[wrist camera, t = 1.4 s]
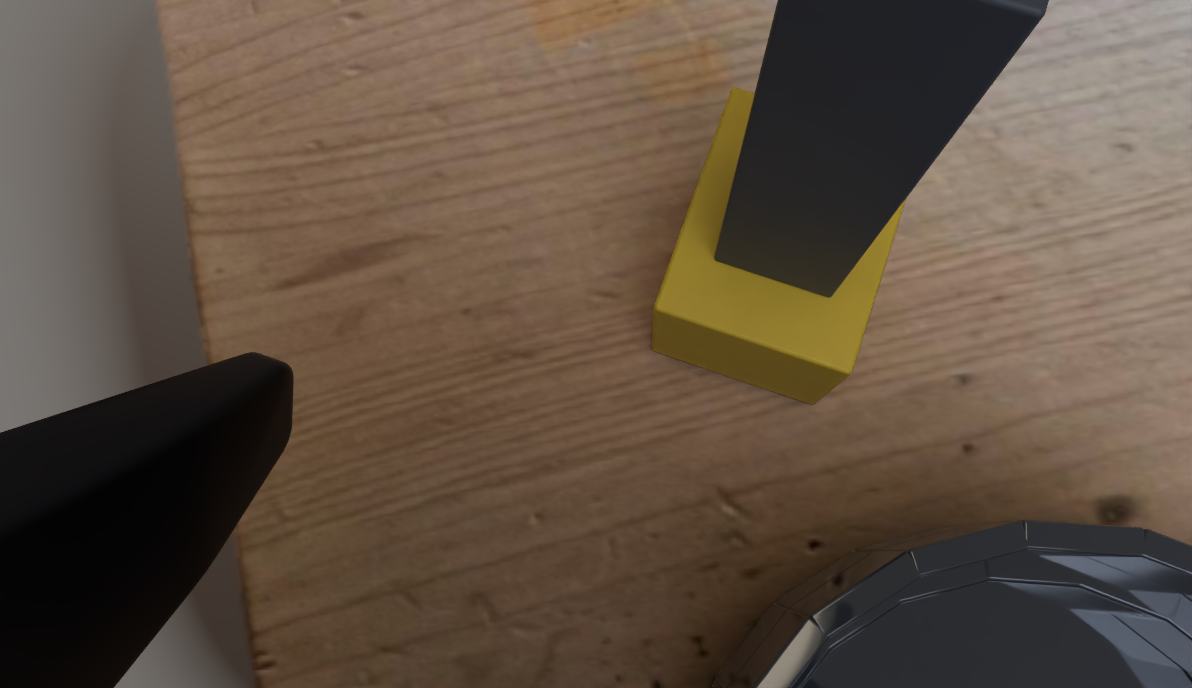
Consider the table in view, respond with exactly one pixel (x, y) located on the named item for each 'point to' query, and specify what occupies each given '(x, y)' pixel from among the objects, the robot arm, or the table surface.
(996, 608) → the bowl
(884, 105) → the sponge wand
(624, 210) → the table surface
